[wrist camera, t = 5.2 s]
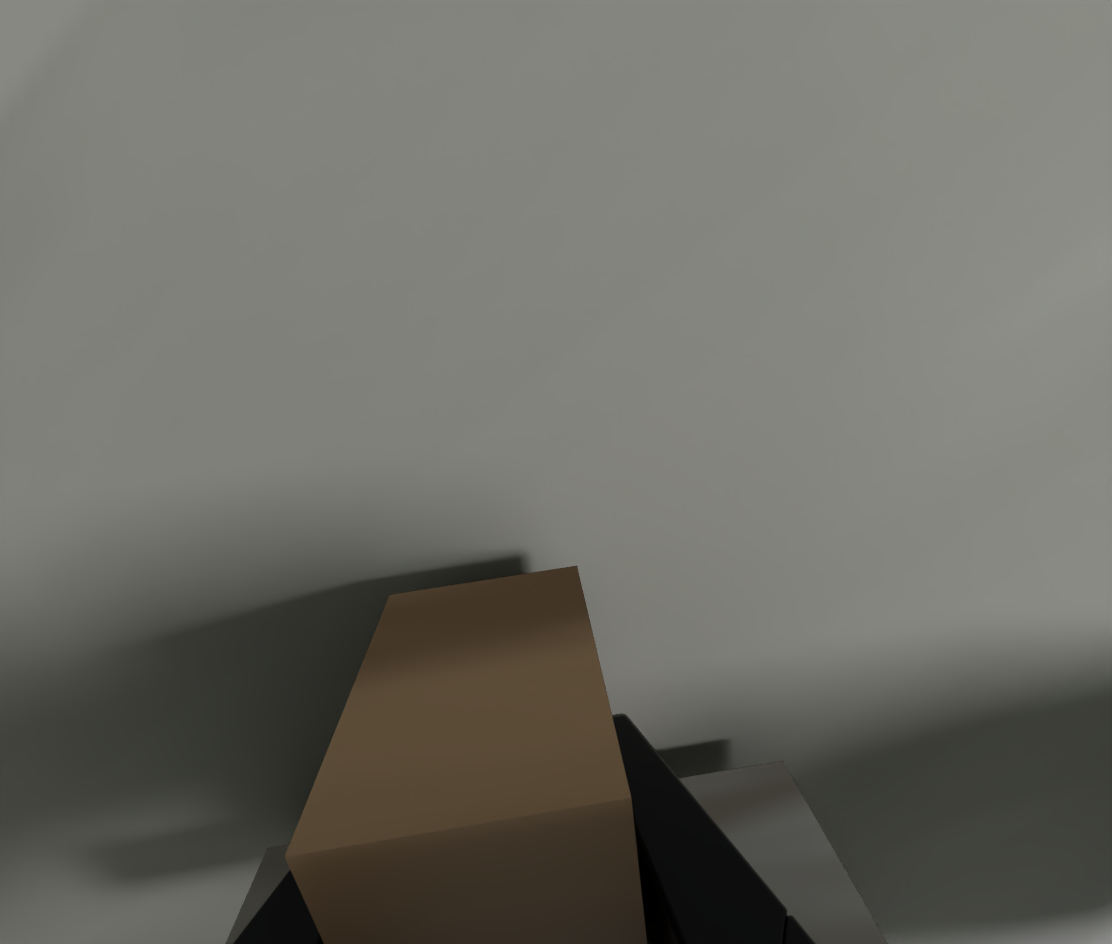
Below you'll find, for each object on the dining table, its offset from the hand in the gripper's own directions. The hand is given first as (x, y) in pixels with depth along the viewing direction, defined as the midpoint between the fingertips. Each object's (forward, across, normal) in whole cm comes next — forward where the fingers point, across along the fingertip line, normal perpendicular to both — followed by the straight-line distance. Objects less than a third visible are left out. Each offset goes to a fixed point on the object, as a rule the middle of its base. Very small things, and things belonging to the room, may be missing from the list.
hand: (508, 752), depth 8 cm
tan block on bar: (+1, 0, +1) cm, 1 cm away
